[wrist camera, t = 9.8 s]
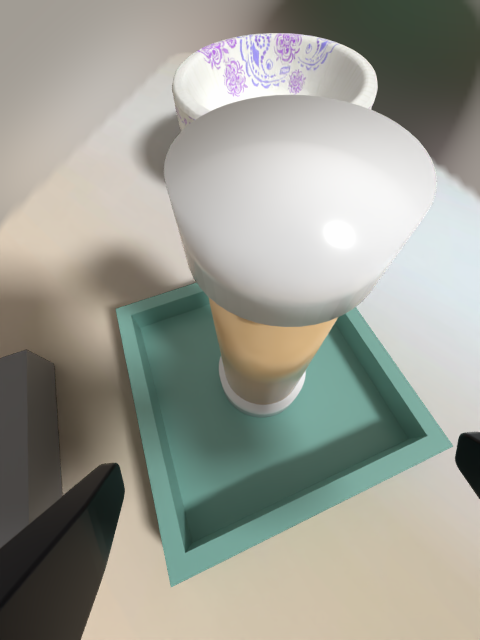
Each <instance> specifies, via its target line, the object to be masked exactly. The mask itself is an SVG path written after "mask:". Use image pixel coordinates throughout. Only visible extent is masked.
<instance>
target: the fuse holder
mask: <svg viewBox="0 0 480 640" xmlns="http://www.w3.org/2000/svg"><path fill="white" fill-rule="evenodd" d="M61 497H62V482H61V466H60V450H59V435H58V419H57V403H56V387H55V372H54V364H53V363H51V362H49V361H47V360H46V359H44V358H42V357H40V356H38V355H36V354H34V353H32V352H30V351H29V350H24V351H21V352H17V353H14V354H11V355H8V356H5V357H2V358H0V548H1V547H2V546H3V545H4V544H6V543H7V542H8V541H9V540H10V539H12V538H13V537H14V536H15V535H16V534H18V533H19V532H20V531H21V530H22V529H24V528H25V527H26V526H27V525H28V524H30V523H31V522H32V521H33V520H34V519H36V518H37V517H38V516H39V515H40V514H42V513H43V512H44V511H45V510H46V509H48V508H49V507H50V506H51V505H52V504H54V503H55V502H56V501H57V500H58V499H60V498H61Z"/></svg>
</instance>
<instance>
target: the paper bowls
mask: <svg viewBox="0 0 480 640" xmlns="http://www.w3.org/2000/svg"><path fill="white" fill-rule="evenodd" d="M172 92H173V96H174V101H175V107H176V112H177V117H178V122H179V126H180V130H181V131H182V130H183V129H184V128H185V127H187V126H188V125H189V124H190V123H191V122H193V121H194V120H196V119H197V118H199V117H200V116H202V115H204V114H206V113H208V112H210V111H212V110H214V109H216V108H219V107H221V106H224V105H227V104H230V103H233V102H237V101H241V100H245V99H250V98H256V97H262V96H272V95H309V96H319V97H325V98H331V99H336V100H341V101H345V102H349V103H352V104H356V105H359V106H362V107H365V108H367V109H370V110H371V107H372V105H373V102H374V99H375V97H376V93H377V77H376V74H375V71H374V70H373V68H372V66H371V65H370V63H369V62H368V61H367V60H366V59H365V58H363V57H362V56H361V55H360V54H358V53H357V52H355V51H354V50H352V49H350V48H348V47H346V46H344V45H341V44H338V43H336V42H333V41H330V40H327V39H323V38H318V37H314V36H308V35H300V34H287V33H285V34H282V33H273V34H272V33H270V34H269V33H267V34H253V35H247V36H239V37H234V38H231V39H226V40H222V41H219V42H216V43H213V44H210V45H208V46H206V47H203V48H202V49H200V50H198V51H196V52H195V53H193V54H192V55H190V56H189V57H188V58H187V59H186V60H185V61H184V62H183V63H182V64H181V65H180V66H179V68H178V69H177V71H176V73H175V75H174V79H173V84H172Z"/></svg>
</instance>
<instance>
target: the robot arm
mask: <svg viewBox="0 0 480 640" xmlns="http://www.w3.org/2000/svg"><path fill="white" fill-rule="evenodd" d="M455 461H456V464H457V467H458V468H459V470H460V472H461V473H462V474H463V476H464V477H465V479H466V480H467V482H468V483H469V484H470V486H471V487H472V489H473V490H474V492H475V493H476V495H477V496H478V497H479V499H480V432H467V433H462V434H461V435H460V436H459V439H458V445H457V450H456V456H455ZM124 494H125V488H124V483H123V479H122V475H121V470H120V467H119V465H118V464H117V463H107V464H101V465H99V466H98V467H97V468H96V469H94V470H93V471H92V472H91V473H90V474H88V475H87V476H86V477H85V478H84V479H82V480H81V481H80V482H79V483H78V484H76V485H75V486H74V487H73V488H72V489H70V490H69V491H68V492H67V493H66V494H64V495H63V496H62V497H61V498H60V499H58V500H57V501H56V502H55V503H54V504H52V505H51V506H50V507H49V508H48V509H46V510H45V511H44V512H43V513H42V514H40V515H39V516H38V517H37V518H36V519H34V520H33V521H32V522H31V523H30V524H28V525H27V526H26V527H25V528H24V529H22V530H21V531H20V532H19V533H18V534H16V535H15V536H14V537H13V538H12V539H10V540H9V541H8V542H7V543H6V544H4V545H3V546H2V547H1V548H0V640H81V637H82V634H83V632H84V629H85V626H86V623H87V620H88V617H89V615H90V612H91V609H92V606H93V603H94V600H95V598H96V595H97V592H98V589H99V586H100V583H101V580H102V577H103V574H104V571H105V568H106V565H107V561H108V557H109V554H110V550H111V546H112V542H113V538H114V534H115V530H116V527H117V523H118V519H119V515H120V511H121V507H122V503H123V499H124Z"/></svg>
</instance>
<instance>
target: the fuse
mask: <svg viewBox="0 0 480 640" xmlns="http://www.w3.org/2000/svg"><path fill="white" fill-rule="evenodd" d="M164 178H165V183H166V187H167V190H168V194H169V198H170V201H171V205H172V208H173V212H174V215H175V219H176V223H177V226H178V230H179V233H180V237H181V240H182V244H183V248H184V251H185V255H186V258H187V262H188V265H189V269H190V271H191V273H192V275H193V278H194V279H195V281H196V282H197V284H198V285H199V287H200V288H201V289H202V290H203V292H204V293H205V294H206V295H207V296H208V297H209V302H210V307H211V311H212V316H213V320H214V325H215V330H216V334H217V339H218V344H219V348H220V353H221V357H220V361H219V376H220V380H221V383H222V387H223V390H224V393H225V395H226V397H227V399H228V400H229V402H230V403H231V404H232V405H233V406H234V407H235V408H236V409H237V410H239V411H240V412H242V413H244V414H246V415H248V416H252V417H257V418H266V417H272V416H275V415H277V414H279V413H281V412H283V411H284V410H285V409H287V408H288V407H289V406H290V405H291V403H292V402H293V401H294V399H295V398H296V396H297V395H298V394H299V392H300V390H301V389H302V386H303V384H304V381H305V375H306V369H307V367H308V366H309V364H310V362H311V361H312V359H313V358H314V356H315V354H316V353H317V351H318V349H319V348H320V346H321V345H322V343H323V341H324V340H325V338H326V336H327V335H328V333H329V332H330V330H331V328H332V327H333V325H334V323H335V322H336V320H337V319H338V317H340V316H342V315H344V314H345V313H347V312H349V311H351V310H352V309H354V308H355V307H356V306H357V305H359V304H360V303H361V302H362V301H363V300H364V299H365V298H366V297H367V296H368V295H369V294H370V292H371V291H372V290H373V288H374V287H375V285H376V284H377V283H378V281H379V280H380V278H381V277H382V276H383V274H384V273H385V271H386V270H387V269H388V267H389V266H390V264H391V263H392V262H393V260H394V259H395V257H396V256H397V254H398V253H399V252H400V250H401V249H402V247H403V246H404V245H405V243H406V242H407V240H408V239H409V238H410V236H411V235H412V233H413V232H414V231H415V229H416V228H417V226H418V225H419V224H420V222H421V221H422V219H423V218H424V217H425V215H426V213H427V212H428V210H429V209H430V207H431V205H432V203H433V200H434V197H435V194H436V187H437V178H436V171H435V168H434V165H433V162H432V160H431V158H430V156H429V155H428V153H427V151H426V149H425V148H424V147H423V146H422V145H421V143H420V142H419V141H418V140H417V139H416V138H415V137H414V136H413V135H412V134H410V132H408V131H407V130H406V129H404V128H403V127H402V126H400V125H399V124H397V123H396V122H394V121H392V120H390V119H389V118H387V117H385V116H383V115H381V114H379V113H377V112H375V111H372V110H370V109H367V108H365V107H362V106H359V105H356V104H352V103H349V102H345V101H341V100H336V99H331V98H325V97H319V96H309V95H272V96H262V97H256V98H250V99H245V100H241V101H237V102H233V103H230V104H227V105H224V106H221V107H219V108H216V109H214V110H212V111H210V112H208V113H206V114H204V115H202V116H200V117H199V118H197V119H196V120H194V121H193V122H191V123H190V124H189V125H188V126H187V127H185V128H184V129H183V130H182V131H181V132H180V133H179V135H178V136H177V137H176V138H175V139H174V141H173V143H172V144H171V146H170V148H169V150H168V152H167V155H166V158H165V163H164Z"/></svg>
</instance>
